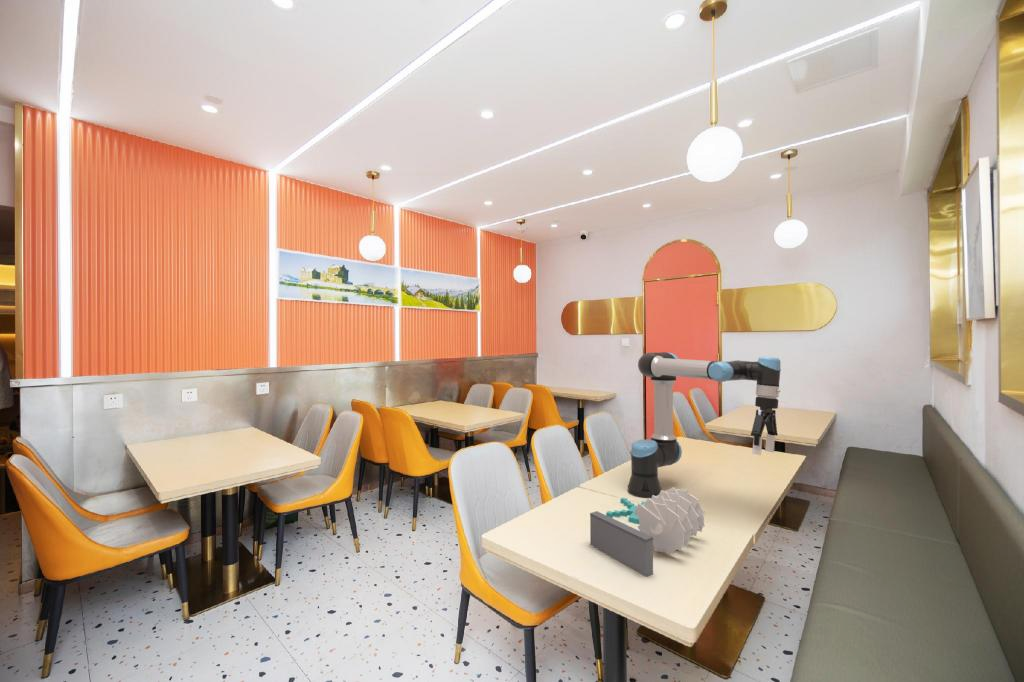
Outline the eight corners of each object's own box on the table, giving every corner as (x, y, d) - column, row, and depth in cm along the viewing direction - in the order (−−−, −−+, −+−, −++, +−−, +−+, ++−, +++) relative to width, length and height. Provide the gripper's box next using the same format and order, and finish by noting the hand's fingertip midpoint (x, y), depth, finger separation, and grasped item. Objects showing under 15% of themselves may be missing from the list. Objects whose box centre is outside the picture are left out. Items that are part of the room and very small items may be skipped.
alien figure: (606, 518, 171) (658, 529, 160) (606, 512, 171) (657, 523, 160) (622, 502, 188) (669, 511, 177) (622, 497, 188) (669, 506, 177)
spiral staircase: (695, 547, 154) (668, 570, 135) (652, 513, 165) (622, 531, 146) (719, 505, 150) (694, 524, 131) (673, 474, 161) (645, 487, 142)
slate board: (590, 544, 147) (590, 513, 147) (597, 542, 149) (597, 511, 149) (645, 576, 127) (645, 539, 127) (653, 573, 128) (653, 537, 129)
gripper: (766, 398, 154) (762, 457, 153) (788, 398, 171) (785, 452, 170) (743, 395, 160) (739, 453, 159) (767, 396, 176) (764, 448, 175)
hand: (763, 453), depth 164 cm, fingers open, 13 cm apart
